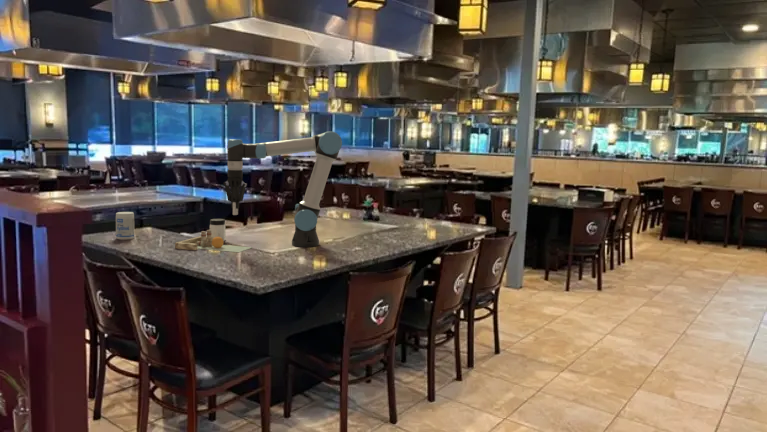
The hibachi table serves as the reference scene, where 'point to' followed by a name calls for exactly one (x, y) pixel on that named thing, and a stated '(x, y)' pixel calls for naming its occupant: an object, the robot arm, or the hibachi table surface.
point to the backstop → (189, 243)
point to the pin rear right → (208, 235)
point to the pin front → (208, 244)
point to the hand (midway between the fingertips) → (235, 214)
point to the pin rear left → (203, 238)
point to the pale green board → (226, 248)
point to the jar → (218, 228)
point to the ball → (217, 242)
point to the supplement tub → (124, 225)
